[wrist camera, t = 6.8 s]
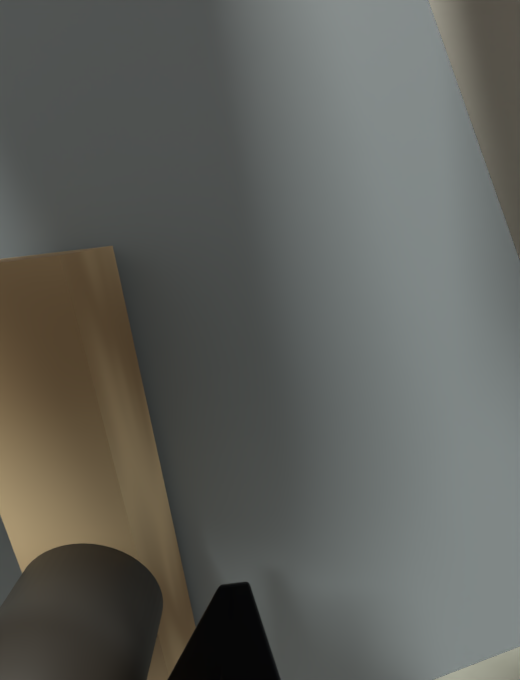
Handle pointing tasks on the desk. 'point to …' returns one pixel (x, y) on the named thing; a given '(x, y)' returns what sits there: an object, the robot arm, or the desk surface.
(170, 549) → the maple link
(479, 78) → the desk surface
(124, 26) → the slate board
